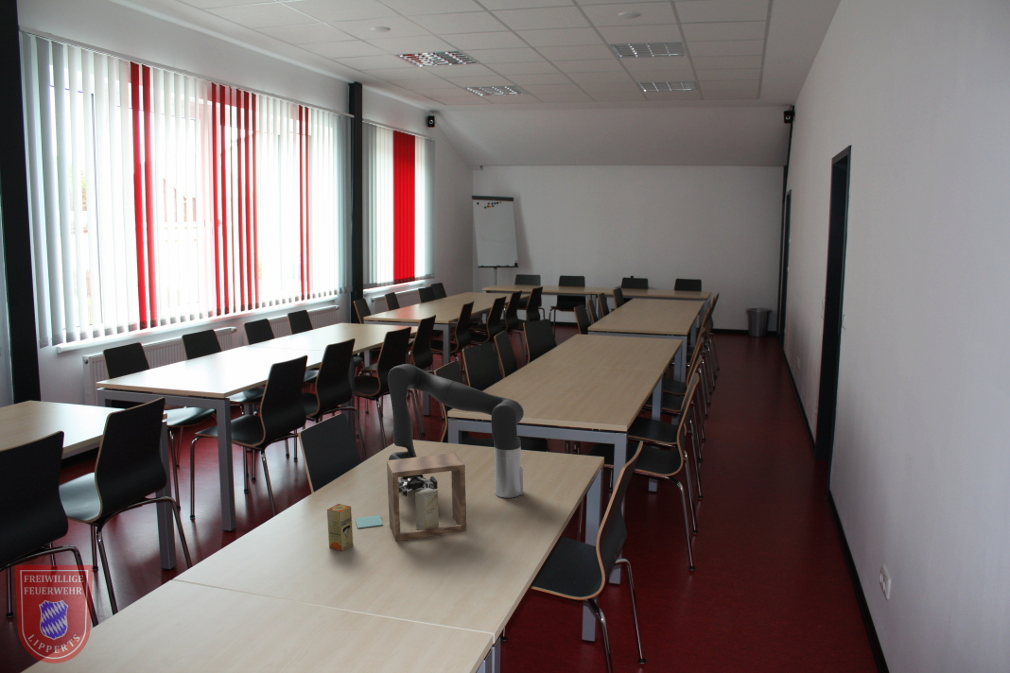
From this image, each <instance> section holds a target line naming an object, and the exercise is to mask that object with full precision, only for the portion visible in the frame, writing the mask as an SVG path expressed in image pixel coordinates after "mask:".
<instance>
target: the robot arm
mask: <svg viewBox="0 0 1010 673" xmlns="http://www.w3.org/2000/svg"><path fill="white" fill-rule="evenodd" d="M387 384H388V389H389V391H388V392H389V397H390V403H391V411H392V419H393V420H392V421H393V422H392V424H393V427H392V428H393V430H392V431H393V433H392V434H393V445H394V446H395V447H399V448H400V447H401V448H404V449H406V450H407V451H397V452H392V453H391V454H390V455H389V456H388V460H397V459H406V458H415V457H418V456H417V454H416V450H415V447H414V441H413V439H414V438H413V420H412V419H413V418H412V416H411V414H410V411H409V407H408V402H407V400H408V397H407V396H408V391H409V390H410V389H413V390H417V391H420V392H423V393H426V394H428V395H430V396H431V397H433V398H434V399H435V401H437V402H439V403H440V404H442V405H443V406H445V407H448V408H449V407H450V408H452V409H455V410H459V411H464V412H475V413H482V414H485V415H486V414H487V415H490V416H491V418H490V419H491V420H490V422H491V437H492V440H493V443H494V444H493V446H494V448H493V449H494V484H495V485H494V491H495V492H494V494H495V495H496V496H497V497H499V498H508V499H510V498H511V499H512V498H515V497H520V496H521V495H524V471H523V470H524V469H523V467H522V454H521V453H522V446H521V445H522V444H521V443H522V442H521V438H520V437H519V436H518V429H517V426H518V424H519V423H520V422H521V420H522V419H523V418H524V416H525V414H524V412H525V411H524V409H523V407H522V404H520V403H519V402H518V401H516V400H514V399H510V398H506V397H503V396H502V397H501V396H498V395H493V394H490V393H487V392H484V391H482V390H479V389H477V388H475V387H473V386H472V387H471V386H468V385H467V384H464V383H461V382H458V381H454V380H452V379H448V378H446V377H442V376H439V375H435V374H432V373H431V372H428V371H426V370H423V369H421V368H419V367H418V366H415V365H413V364H410V363H405V364H404V363H403V364H400V365H396V366H394V367H392V368H391V369H390V370H389V371H388V375H387ZM398 479H399V481H398V488H399V493H401V495H402V497H403V496H404V497H405V498H407V497H408V492H410V491H411V492H412V491H417V490H424V489H426V488H431V489H434V490H438V488H439V487H438V481H437V479H436V478H435V477H434V476H433V475H431V476H430V477H429V478H428V479H427V478H425V477H424V474H422V475H413V476H405V477H398Z"/></svg>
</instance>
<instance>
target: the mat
mask: <svg viewBox="0 0 1010 673" xmlns="http://www.w3.org/2000/svg"><path fill="white" fill-rule="evenodd" d="M354 520H355V524H357V525H356V527H357V530H359V529H366V528H375V527H382V526H384V523H383V520H382V517H381V515H380V514H377V515H370V516H369V515H368V516H362V517H355V518H354Z"/></svg>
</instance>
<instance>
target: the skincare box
mask: <svg viewBox="0 0 1010 673" xmlns="http://www.w3.org/2000/svg"><path fill="white" fill-rule="evenodd" d="M438 493H439V492H438V489H435V490H434V489H431V488H426V489H424V490H422V489H420V490H419V491H417V492H415V493H414V499H415V502H414V503H415V505H414V506H415V527H416V528H415V531H417V530H424V529H431V528H439V527H440V523H439V522H440V521H439V518H440V517H439V496H438V495H439V494H438Z"/></svg>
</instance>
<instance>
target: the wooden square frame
mask: <svg viewBox="0 0 1010 673" xmlns="http://www.w3.org/2000/svg"><path fill="white" fill-rule="evenodd" d="M386 470H387V472H386V474H387V477H386V478H387V495H388V496H387V497H388V519H389V520H388V523H389V528H390V530H391V534H392V536H393V539H394V542H400V541H406V540H407V541H408V540H414V539H422V538H427V537H434V536H435V537H436V536H442V535H448V534H454V533H462V532H467V503H466V502H467V499H466V496H467V495H466V493H467V492H466V465H465V462H464V461H463V460H462V459H461V458H460V457H459V455H458V454H457V453H456V452H452V453H444V454H434V455H425V456H417V457H415V458H406V459H397V460H389V459H388V460H386ZM445 472H446V473H447V472H451V474H450V475H451V502H452V504H451V506H452V508H451V509H452V519H453V520H454V521H455V523H456V524H454V525H447V526H439V527H438V528H431V529H424V530H411V531H406V532H405V531H404V532H401V517H400V516H401V514H400V492H399V488H398V482H399V477H405V476H413V475H427V474H428V475H430V474H436V473H437V474H439V473H445Z"/></svg>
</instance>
